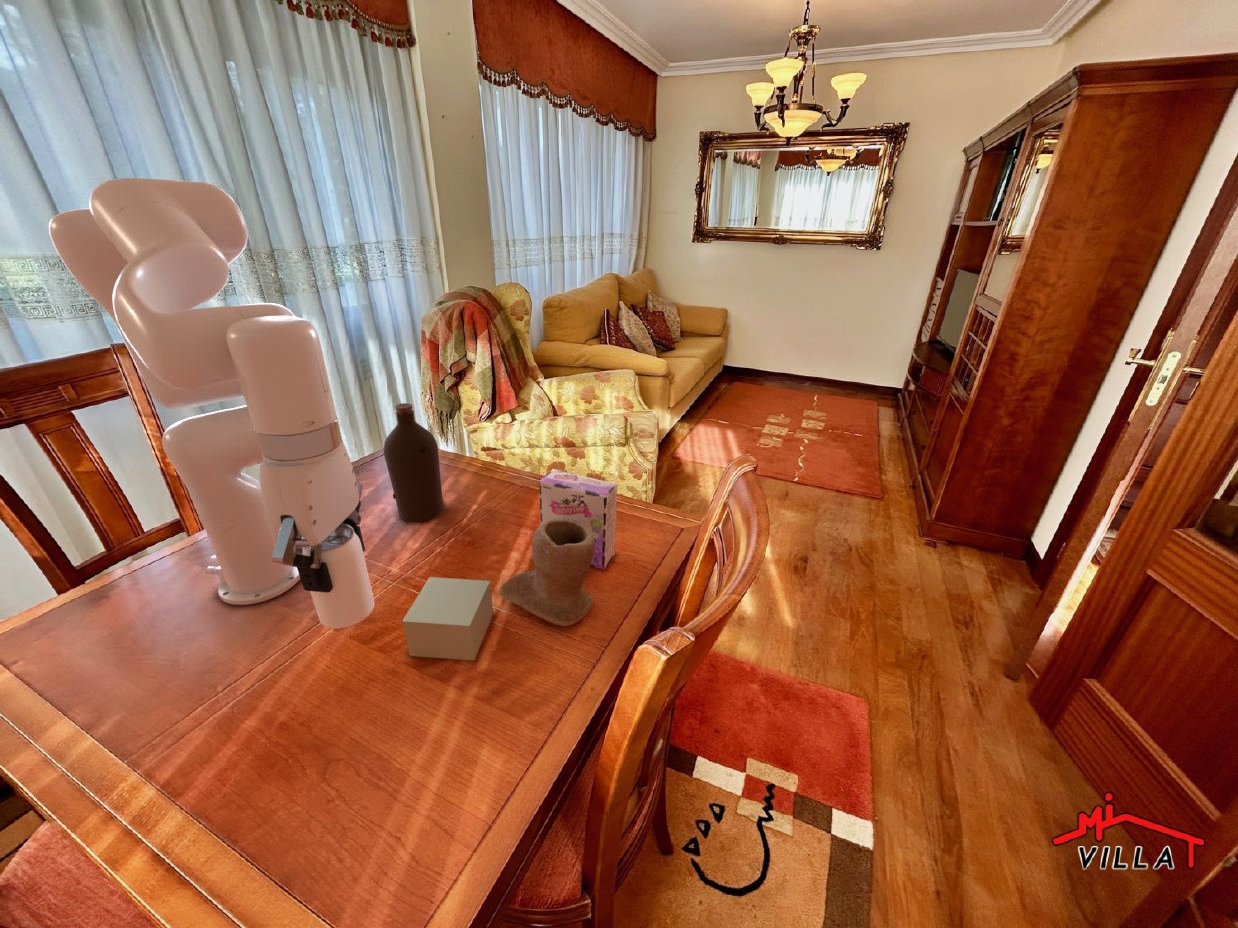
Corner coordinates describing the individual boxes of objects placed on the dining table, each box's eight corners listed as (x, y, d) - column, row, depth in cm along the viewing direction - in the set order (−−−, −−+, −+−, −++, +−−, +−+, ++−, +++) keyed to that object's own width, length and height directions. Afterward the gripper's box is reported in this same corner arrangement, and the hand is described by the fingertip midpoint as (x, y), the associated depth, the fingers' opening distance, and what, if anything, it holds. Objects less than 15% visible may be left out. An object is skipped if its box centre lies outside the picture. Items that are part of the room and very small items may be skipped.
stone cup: (608, 598, 88) (610, 527, 82) (565, 640, 79) (564, 564, 73) (543, 566, 96) (540, 499, 89) (497, 601, 87) (490, 529, 80)
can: (353, 635, 61) (332, 557, 56) (307, 625, 62) (282, 547, 57) (385, 599, 67) (369, 525, 62) (342, 591, 68) (323, 517, 63)
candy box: (540, 552, 100) (537, 480, 92) (554, 537, 104) (552, 467, 97) (604, 570, 95) (605, 496, 88) (615, 553, 100) (618, 481, 93)
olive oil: (454, 501, 116) (440, 399, 105) (432, 526, 107) (414, 417, 95) (411, 496, 117) (393, 395, 106) (386, 521, 108) (363, 412, 97)
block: (409, 656, 76) (401, 621, 73) (435, 609, 85) (429, 576, 81) (474, 660, 75) (469, 625, 72) (493, 613, 84) (489, 580, 81)
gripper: (315, 406, 61) (345, 527, 69) (201, 473, 46) (257, 618, 54) (375, 410, 61) (398, 531, 69) (281, 479, 45) (325, 624, 54)
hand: (336, 569), depth 61 cm, fingers closed on can, 6 cm apart
